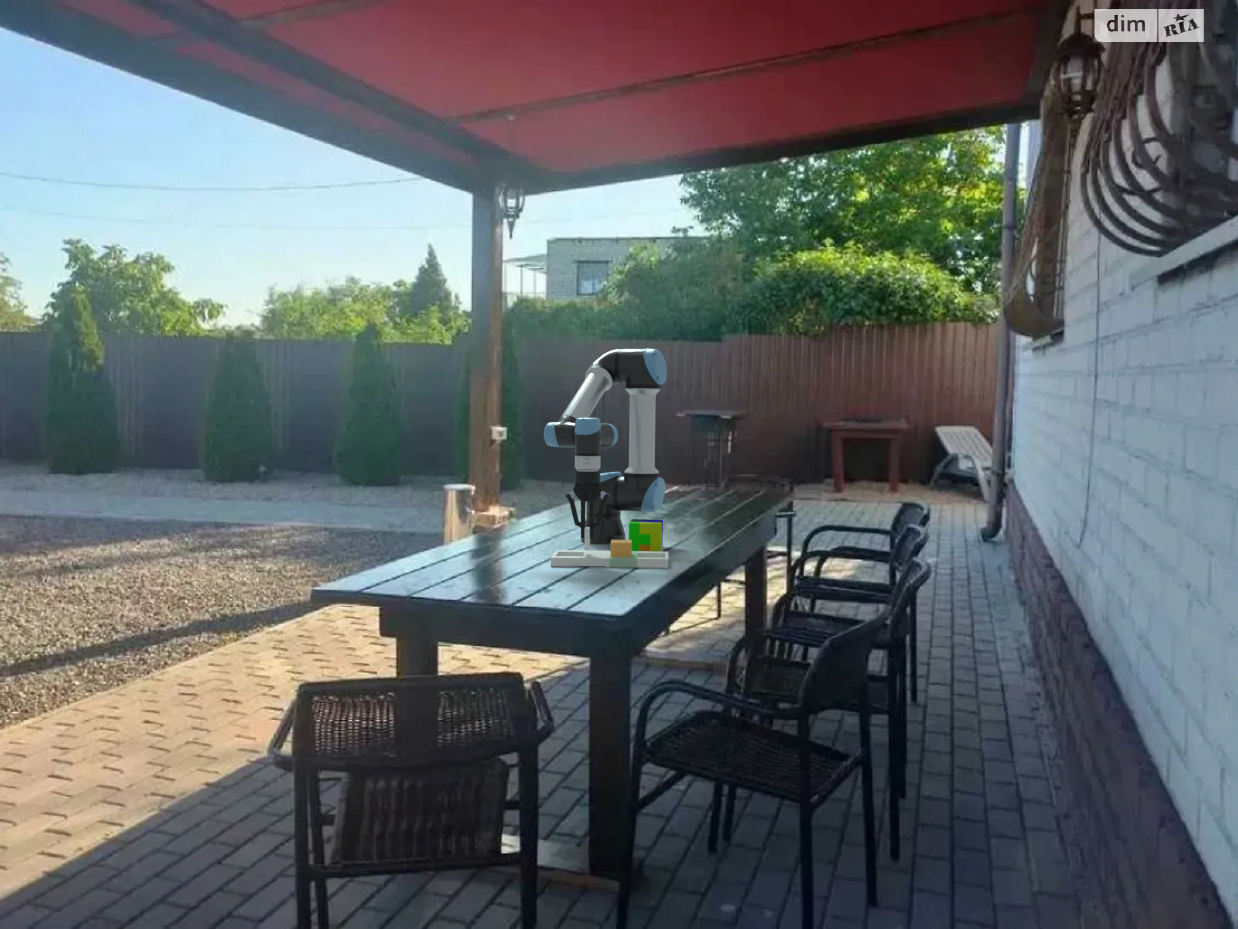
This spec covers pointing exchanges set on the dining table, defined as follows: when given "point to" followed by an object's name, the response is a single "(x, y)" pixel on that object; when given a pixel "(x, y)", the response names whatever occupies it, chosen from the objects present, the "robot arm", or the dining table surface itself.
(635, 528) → the puzzle toy
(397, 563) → the dining table surface
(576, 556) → the plate
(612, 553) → the orange block
